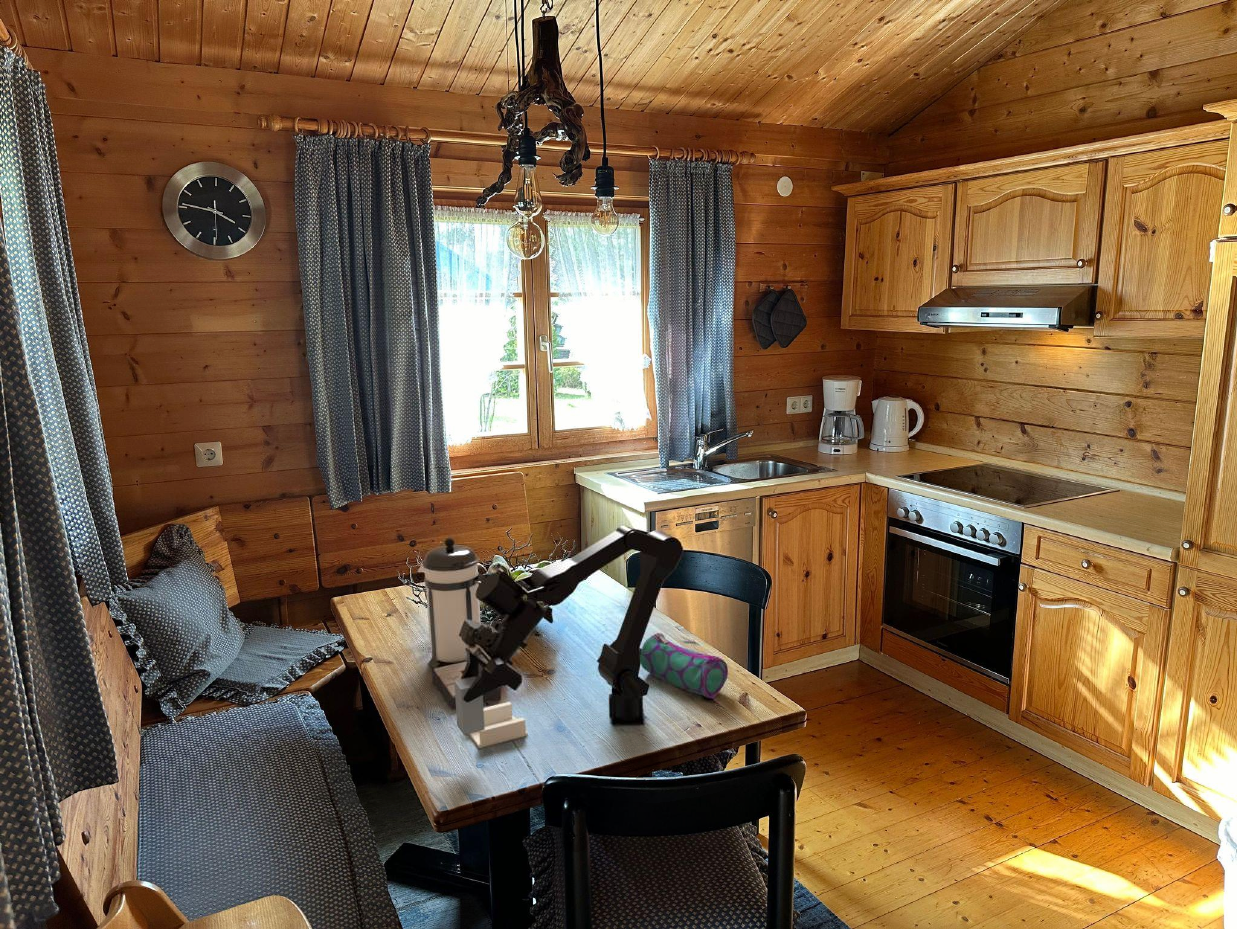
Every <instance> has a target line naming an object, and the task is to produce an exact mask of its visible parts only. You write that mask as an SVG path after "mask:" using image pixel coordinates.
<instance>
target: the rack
mask: <svg viewBox="0 0 1237 929" xmlns="http://www.w3.org/2000/svg"><path fill="white" fill-rule="evenodd" d="M483 710H484V727H485V730H482V731H478V732H474V733H470V734H468V735H469V736H470V738H471V740H472V741H473V742H474V744H475V745H476V746H477V748H478V749H482V748H485V747H488V746H489V747H490V746H492V745H497V744H500V743H503V742H508V741H512V740H515V739H519V738H523V737H527V736H529V735H528V734H529V733H528V731H527V729H526V728H527V726H526V719H525V718H524V717H519V718H516V717H515V716H514V715H513V704H512V702H511V701H507V702H503V703H498V704H495V705H491V706H486V707H483Z"/></svg>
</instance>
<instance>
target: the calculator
mask: <svg viewBox="0 0 1237 929" xmlns="http://www.w3.org/2000/svg"><path fill="white" fill-rule="evenodd" d="M466 664H467V661H461V662H456V663H453V664H449V665H445V666H440V667H439V666H438V667H437V668H435V669H431V679H432V682H431V683H432V685H433V687H434V688H435V689H436V691H438V692H439V694H440V695H441V697H442V699H443V700H444V702H445V703H446V704H447V706H448V707H449V708H450V710H451V711H456V699H455V684H454V681H456V680H460V679H461V676H462V674H463V672H464V669H465V666H466ZM500 699H502V686H501V687H499V688H496V689H494V690H492V691H490V692H488V693H485V694H484V695H483V704H484V703H488V702H489V703H490V702H492V701H497V700H500Z"/></svg>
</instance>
